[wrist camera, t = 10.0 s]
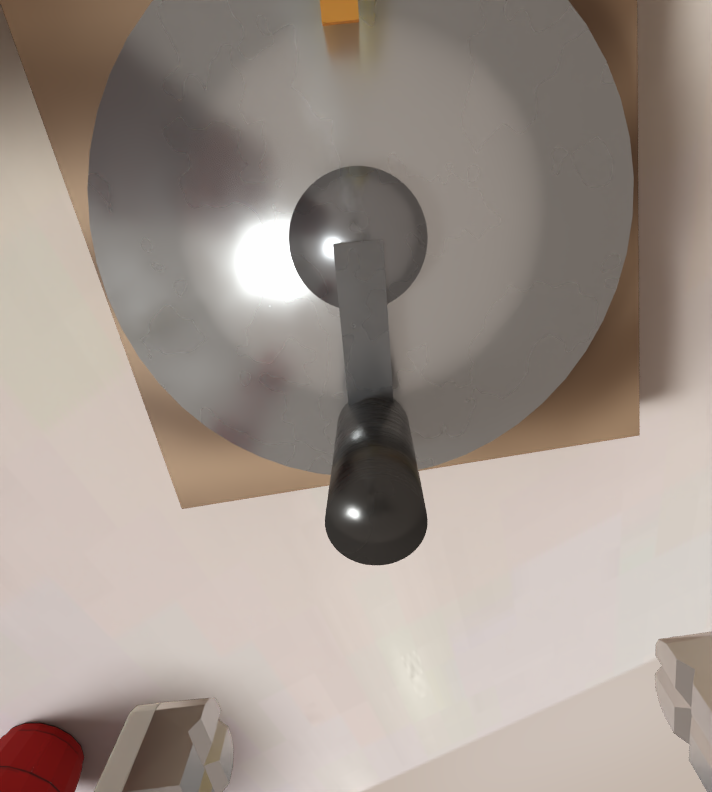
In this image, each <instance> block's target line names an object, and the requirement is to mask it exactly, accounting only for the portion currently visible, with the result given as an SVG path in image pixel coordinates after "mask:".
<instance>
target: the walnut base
mask: <svg viewBox="0 0 712 792" xmlns="http://www.w3.org/2000/svg"><path fill="white" fill-rule="evenodd" d="M152 1H153V0H0V4H1V7H2V9H3V12H4V15H5V18H6V20H7V23H8V26H9V29H10V32H11V34H12V37H13V40H14V43H15V46H16V48H17V51H18V54H19V57H20V59H21V62H22V65H23V68H24V71H25V73H26V76H27V79H28V82H29V84H30V87H31V90H32V93H33V96H34V98H35V101H36V104H37V107H38V110H39V112H40V115H41V118H42V121H43V123H44V126H45V129H46V132H47V135H48V137H49V140H50V143H51V146H52V149H53V151H54V154H55V157H56V160H57V162H58V165H59V168H60V171H61V174H62V176H63V179H64V182H65V185H66V187H67V190H68V193H69V196H70V199H71V201H72V204H73V207H74V210H75V213H76V215H77V218H78V221H79V224H80V226H81V229H82V232H83V235H84V238H85V240H86V243H87V246H88V249H89V252H90V254H91V257H92V260H93V263H94V265H95V268H96V271H97V274H98V277H99V279H100V282H101V285H102V288H103V290H104V293H105V296H106V299H107V302H108V304H109V307H110V310H111V313H112V316H113V318H114V321H115V324H116V327H117V329H118V332H119V335H120V338H121V341H122V343H123V346H124V349H125V352H126V355H127V357H128V360H129V363H130V366H131V368H132V371H133V374H134V377H135V380H136V382H137V385H138V388H139V391H140V393H141V396H142V399H143V402H144V405H145V407H146V410H147V413H148V416H149V419H150V421H151V424H152V427H153V430H154V432H155V435H156V438H157V441H158V444H159V446H160V449H161V452H162V455H163V458H164V460H165V463H166V466H167V469H168V471H169V474H170V477H171V480H172V483H173V485H174V488H175V491H176V494H177V496H178V499H179V502H180V505H181V508H182V509H185V508H191V507H197V506H203V505H210V504H216V503H222V502H228V501H234V500H241V499H247V498H253V497H259V496H265V495H272V494H278V493H284V492H290V491H297V490H303V489H309V488H315V487H321V486H328V485H330V477H331V475H327V474H318V473H313V472H309V471H304V470H300V469H295V468H291V467H287V466H284V465H282V464H279V463H276V462H273V461H270V460H267V459H265V458H262V457H259V456H257V455H255V454H253V453H251V452H249V451H247V450H245V449H243V448H241V447H239V446H237V445H234V444H232V443H231V442H229V441H228V440H226V439H225V438H223V437H222V436H220V435H218V434H217V433H215V432H214V431H212V430H211V429H209V428H207V427H206V426H205V425H204V424H202V423H201V422H200V421H199V420H197V419H196V418H195V417H194V416H192V415H191V414H190V413H189V412H188V411H186V410H185V409H184V408H183V407H181V405H180V404H179V403H178V402H177V401H176V400H175V399H174V398H173V397H172V396H171V395H170V394H169V393H168V392H167V391H166V390H165V389H164V388H163V387H162V386H161V385H160V384H159V383H158V381H157V380H156V379H155V378H154V376H153V375H152V374H151V372H150V371H149V370H148V368H147V367H146V366H145V365H144V363H143V362H142V361H141V359H140V358H139V357H138V355H137V353H136V352H135V350H134V348H133V347H132V345H131V343H130V342H129V340H128V338H127V337H126V335H125V333H124V332H123V330H122V328H121V326H120V324H119V321H118V319H117V317H116V315H115V313H114V310H113V308H112V306H111V304H110V302H109V299H108V297H107V294H106V291H105V288H104V285H103V281H102V278H101V275H100V272H99V269H98V266H97V262H96V257H95V252H94V246H93V241H92V236H91V230H90V222H89V206H88V191H87V188H88V171H89V154H90V147H91V141H92V136H93V131H94V126H95V120H96V115H97V111H98V108H99V105H100V102H101V99H102V96H103V93H104V90H105V87H106V84H107V81H108V78H109V74H110V72H111V70H112V68H113V66H114V64H115V62H116V60H117V58H118V56H119V54H120V52H121V50H122V48H123V46H124V44H125V42H126V40H127V38H128V36H129V34H130V33H131V32H132V30H133V29H134V27H135V26H136V24H137V23H138V21H139V20H140V18H141V17H142V15H143V14H144V12H145V11H146V9H147V8H148V6H149V5H150V3H151V2H152ZM568 1H569V2H570V3H571V5H572V6H573V7H574V9H575V10H576V11H577V13H578V14H579V15H580V17H581V18H582V19H583V21H584V22H585V23H586V25H587V26H588V28H589V30H590V32H591V34H592V36H593V37H594V39H595V41H596V43H597V45H598V46H599V48H600V50H601V52H602V54H603V56H604V57H605V59H606V61H607V64H608V66H609V69H610V72H611V74H612V77H613V80H614V82H615V85H616V87H617V90H618V93H619V95H620V98H621V102H622V106H623V110H624V115H625V119H626V123H627V128H628V132H629V136H630V144H631V154H632V164H633V175H634V187H633V217H632V223H631V229H630V236H629V242H628V248H627V254H626V258H625V261H624V265H623V268H622V272H621V275H620V279H619V282H618V286H617V289H616V291H615V294H614V296H613V298H612V301H611V303H610V306H609V308H608V310H607V313H606V315H605V317H604V320H603V322H602V324H601V325H600V327H599V329H598V331H597V333H596V334H595V336H594V338H593V340H592V341H591V343H590V345H589V347H588V348H587V350H586V352H585V353H584V354H583V356H582V357H581V359H580V360H579V361H578V363H577V364H576V365H575V367H574V368H573V369H572V371H571V372H570V373H569V375H568V376H567V378H566V379H565V380H564V381H563V382H562V383H561V384H560V385H559V386H558V387H557V388H556V390H555V391H554V392H553V393H552V394H551V395H550V396H549V397H548V398H547V399H546V400H545V401H544V402H543V403H542V404H541V405H540V406H539V407H538V408H536V409H535V410H534V411H533V412H532V413H530V414H529V415H528V416H527V417H526V418H525V419H523V420H522V421H521V422H520V423H519V424H517V425H516V426H514V427H513V428H511V429H510V430H508V431H507V432H505V433H504V434H502V435H501V436H499V437H498V438H496V439H495V440H493V441H491V442H489V443H487V444H485V445H484V446H482V447H480V448H478V449H476V450H474V451H472V452H470V453H468V454H466V455H464V456H461V457H458V458H455V459H453V460H450V461H447V462H445V463H442V464H439V465H437V466H433V467H429V468H424V469H420V470H418V471H421V470H427V469H433V468H439V467H445V466H452V465H458V464H464V463H470V462H476V461H483V460H489V459H495V458H501V457H507V456H514V455H520V454H526V453H532V452H538V451H545V450H551V449H557V448H563V447H569V446H576V445H582V444H588V443H594V442H600V441H607V440H613V439H619V438H625V437H631V436H638V435H639V246H638V51H637V0H568Z"/></svg>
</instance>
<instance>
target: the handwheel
mask: <svg viewBox="0 0 712 792" xmlns="http://www.w3.org/2000/svg"><path fill="white" fill-rule="evenodd" d="M633 187H634V175H633V164H632V154H631V144H630V136H629V132H628V128H627V123H626V119H625V115H624V110H623V106H622V102H621V98H620V95H619V93H618V90H617V87H616V85H615V82H614V80H613V77H612V74H611V72H610V69H609V66H608V64H607V61H606V59H605V57H604V56H603V54H602V52H601V50H600V48H599V46H598V45H597V43H596V41H595V39H594V37H593V36H592V34H591V32H590V30H589V28H588V26H587V25H586V23H585V22H584V21H583V19H582V18H581V17H580V15H579V14H578V13H577V11H576V10H575V9H574V7H573V6H572V5H571V3H570V2H569V1H568V0H153V1H152V2H151V3H150V5H149V6H148V8H147V9H146V11H145V12H144V14H143V15H142V17H141V18H140V20H139V21H138V23H137V24H136V26H135V27H134V29H133V30H132V32H131V33H130V34H129V36H128V38H127V40H126V42H125V44H124V46H123V48H122V50H121V52H120V54H119V56H118V58H117V60H116V62H115V64H114V66H113V68H112V70H111V72H110V74H109V78H108V81H107V84H106V87H105V90H104V93H103V96H102V99H101V102H100V105H99V108H98V111H97V115H96V120H95V126H94V131H93V136H92V141H91V147H90V154H89V171H88V188H87V191H88V206H89V222H90V230H91V236H92V241H93V246H94V252H95V257H96V262H97V266H98V269H99V272H100V275H101V278H102V281H103V285H104V288H105V291H106V294H107V297H108V299H109V302H110V304H111V306H112V308H113V310H114V313H115V315H116V317H117V319H118V321H119V324H120V326H121V328H122V330H123V332H124V333H125V335H126V337H127V338H128V340H129V342H130V343H131V345H132V347H133V348H134V350H135V352H136V353H137V355H138V357H139V358H140V359H141V361H142V362H143V363H144V365H145V366H146V367H147V368H148V370H149V371H150V372H151V374H152V375H153V376H154V378H155V379H156V380H157V381H158V383H159V384H160V385H161V386H162V387H163V388H164V389H165V390H166V391H167V392H168V393H169V394H170V395H171V396H172V397H173V398H174V399H175V400H176V401H177V402H178V403H179V404H180V405H181V407H183V408H184V409H185V410H186V411H188V412H189V413H190V414H191V415H192V416H194V417H195V418H196V419H197V420H199V421H200V422H201V423H202V424H204V425H205V426H206V427H207V428H209V429H211V430H212V431H214V432H215V433H217V434H218V435H220V436H222V437H223V438H225V439H226V440H228V441H229V442H231V443H232V444H234V445H237V446H239V447H241V448H243V449H245V450H247V451H249V452H251V453H253V454H255V455H257V456H259V457H262V458H265V459H267V460H270V461H273V462H276V463H279V464H282V465H284V466H287V467H291V468H295V469H300V470H304V471H309V472H313V473H318V474H327V475H331V477H330V485H329V493H328V501H327V509H326V517H325V527H326V532H327V535H328V538H329V539H330V541H331V543H332V544H333V546H334V547H335V548H336V549H337V550H338V551H339V552H340V553H341V554H343V555H344V556H345V557H347V558H349V559H351V560H353V561H355V562H358V563H362V564H366V565H386V564H390V563H394V562H397V561H399V560H401V559H404V558H405V557H407V556H408V555H410V554H411V553H412V552H414V551H415V550H416V548H417V547H418V546H419V545H420V543H421V542H422V540H423V538H424V536H425V533H426V529H427V513H426V508H425V503H424V498H423V493H422V487H421V482H420V477H419V472H418V470H420V469H424V468H429V467H433V466H437V465H439V464H442V463H445V462H447V461H450V460H453V459H455V458H458V457H461V456H464V455H466V454H468V453H470V452H472V451H474V450H476V449H478V448H480V447H482V446H484V445H485V444H487V443H489V442H491V441H493V440H495V439H496V438H498V437H499V436H501V435H502V434H504V433H505V432H507V431H508V430H510V429H511V428H513V427H514V426H516V425H517V424H519V423H520V422H521V421H522V420H523V419H525V418H526V417H527V416H528V415H529V414H530V413H532V412H533V411H534V410H535V409H536V408H538V407H539V406H540V405H541V404H542V403H543V402H544V401H545V400H546V399H547V398H548V397H549V396H550V395H551V394H552V393H553V392H554V391H555V390H556V388H557V387H558V386H559V385H560V384H561V383H562V382H563V381H564V380H565V379H566V378H567V376H568V375H569V373H570V372H571V371H572V369H573V368H574V367H575V365H576V364H577V363H578V361H579V360H580V359H581V357H582V356H583V354H584V353H585V352H586V350H587V348H588V347H589V345H590V343H591V341H592V340H593V338H594V336H595V334H596V333H597V331H598V329H599V327H600V325H601V324H602V322H603V320H604V317H605V315H606V313H607V310H608V308H609V306H610V303H611V301H612V298H613V296H614V294H615V291H616V289H617V286H618V282H619V279H620V275H621V272H622V268H623V265H624V261H625V258H626V254H627V248H628V242H629V236H630V229H631V223H632V217H633Z"/></svg>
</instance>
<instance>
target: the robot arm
mask: <svg viewBox="0 0 712 792" xmlns="http://www.w3.org/2000/svg"><path fill="white" fill-rule="evenodd" d="M655 655H656V657H657V659H658V660H659V662H660V664H661V665H662V666H661V667H660V669H659V670H658V671H657V672H656V673H655V688H656V692H657V696H658V699H659V703H660V706H661V709H662V711H663V713H664V716H665V718H666V720H667V722H668V723H669V725H670V727H671V729H672V731H673V733H674V734H676V735H677V736H678V737H680V738H681V739H683V740H684V741H686V742H687V743H689V744H690V747H689V761H690V762H691V764H692V766H693V768H694V770H695V771H696V773H697V775H698V776H699V778H700V780H701V782H702V784H703V785H704V787H705V789H706V791H707V792H712V632H705V633H698V634H691V635H684V636H677V637H670V638H663V639H658V641H657V643H656V649H655ZM220 712H221V708H220V706H219V704H218V702H217V700H216V698H203V699H193V700H183V701H173V702H162V703H155V704H146V705H137V706H136V707H135V708H134V709H133V710H132V711H131V713H130V714H129V716H128V718H127V720H126V722H125V724H124V727H123V729H122V731H121V733H120V735H119V738H118V740H117V742H116V744H115V746H114V749H113V751H112V753H111V755H110V757H109V760H108V762H107V764H106V766H105V768H104V771H103V773H102V775H101V777H100V779H99V782H98V784H97V786H96V788H95V790H94V792H223V790H224V789H225V788H226V787H227V785H228V784H229V781H230V777H231V772H232V767H233V742H232V736H231V733H230V730H229V728H228V726H227V725H225V724H224V723H222V722H221V721H219V720H218V719H219V716H220Z"/></svg>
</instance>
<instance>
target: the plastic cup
mask: <svg viewBox="0 0 712 792" xmlns="http://www.w3.org/2000/svg"><path fill="white" fill-rule="evenodd" d="M83 760H84V755H83V752H82V749H81V746H80V745H79V744H78V742H77V741H76V740H75V739H74V738H73V737H72V736H71V735H69V734H68V733H66V732H64V731H62V730H61V729H59V728H57V727H53V726H49V725H46V724H42V723H27V724H22V725H19V726H17V727H14V728H12V729H11V730H10V731H9V732H8V733H7V734H6V735H4V736H3V737H2V738H1V739H0V792H75V790H76V787H77V784H78V781H79V778H80V774H81V770H82V763H83Z"/></svg>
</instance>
